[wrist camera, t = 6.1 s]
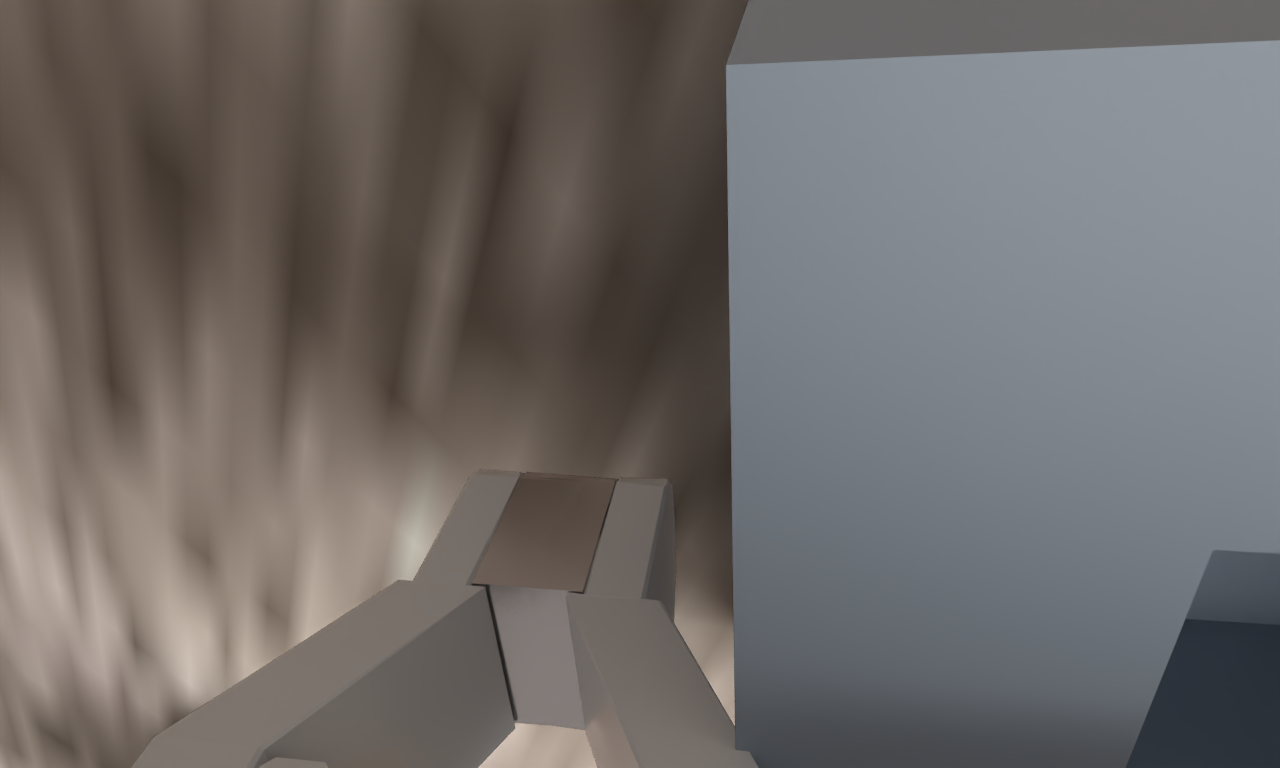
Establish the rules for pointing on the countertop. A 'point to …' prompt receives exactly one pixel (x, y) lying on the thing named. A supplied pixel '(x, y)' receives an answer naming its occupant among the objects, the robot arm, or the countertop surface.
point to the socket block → (1005, 383)
